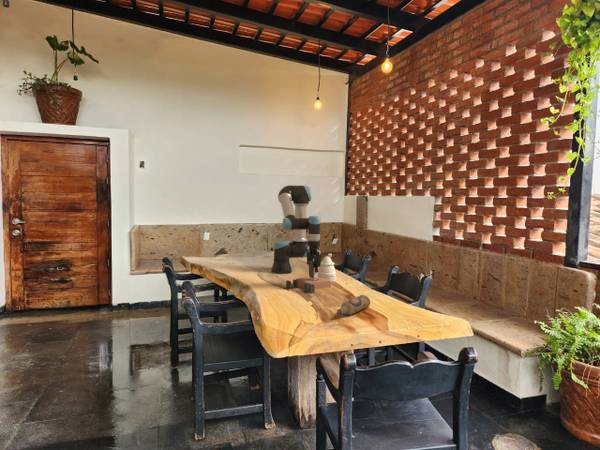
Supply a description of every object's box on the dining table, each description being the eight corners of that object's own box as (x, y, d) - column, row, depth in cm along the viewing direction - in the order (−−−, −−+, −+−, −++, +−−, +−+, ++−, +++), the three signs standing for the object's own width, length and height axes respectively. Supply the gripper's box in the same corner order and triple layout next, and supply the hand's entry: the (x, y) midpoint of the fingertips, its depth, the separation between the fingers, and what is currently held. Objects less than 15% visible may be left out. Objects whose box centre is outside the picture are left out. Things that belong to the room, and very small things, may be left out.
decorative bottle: (330, 317, 180) (330, 303, 180) (358, 305, 200) (358, 293, 199) (343, 320, 175) (343, 306, 175) (370, 308, 195) (371, 296, 194)
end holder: (295, 284, 243) (295, 278, 243) (315, 281, 252) (315, 275, 252) (310, 290, 230) (310, 283, 229) (330, 286, 239) (330, 280, 238)
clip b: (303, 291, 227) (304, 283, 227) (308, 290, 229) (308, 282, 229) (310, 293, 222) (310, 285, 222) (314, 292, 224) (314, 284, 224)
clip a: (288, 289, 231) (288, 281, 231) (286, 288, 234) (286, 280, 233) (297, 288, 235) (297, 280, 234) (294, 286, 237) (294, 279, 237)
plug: (308, 279, 241) (309, 261, 240) (313, 278, 243) (314, 260, 242) (312, 280, 238) (312, 262, 237) (317, 280, 240) (317, 261, 239)
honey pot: (336, 278, 264) (336, 252, 263) (335, 282, 251) (336, 255, 250) (317, 277, 265) (318, 252, 264) (316, 281, 253) (317, 255, 251)
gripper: (301, 239, 243) (300, 274, 245) (317, 242, 229) (316, 279, 231) (310, 238, 248) (310, 273, 249) (327, 241, 234) (326, 278, 235)
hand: (313, 276), depth 240 cm, fingers closed on plug, 4 cm apart
